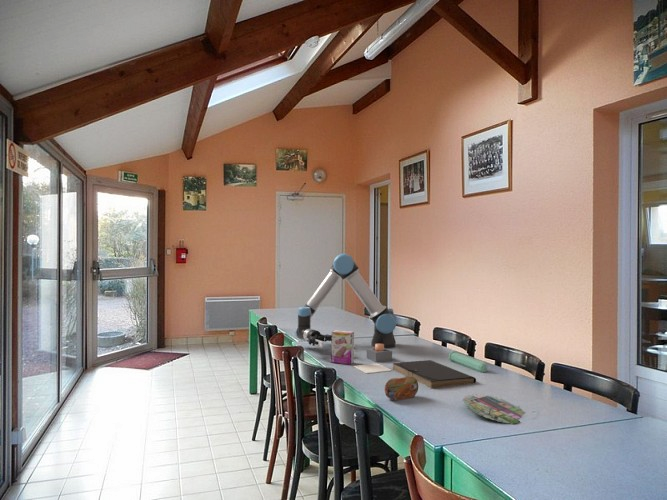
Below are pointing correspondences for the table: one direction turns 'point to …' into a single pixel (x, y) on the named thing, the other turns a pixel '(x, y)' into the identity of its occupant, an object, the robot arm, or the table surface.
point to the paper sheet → (372, 368)
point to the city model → (494, 408)
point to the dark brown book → (433, 374)
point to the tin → (401, 388)
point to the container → (467, 361)
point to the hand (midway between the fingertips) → (332, 342)
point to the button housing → (379, 355)
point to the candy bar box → (342, 347)
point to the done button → (379, 347)
